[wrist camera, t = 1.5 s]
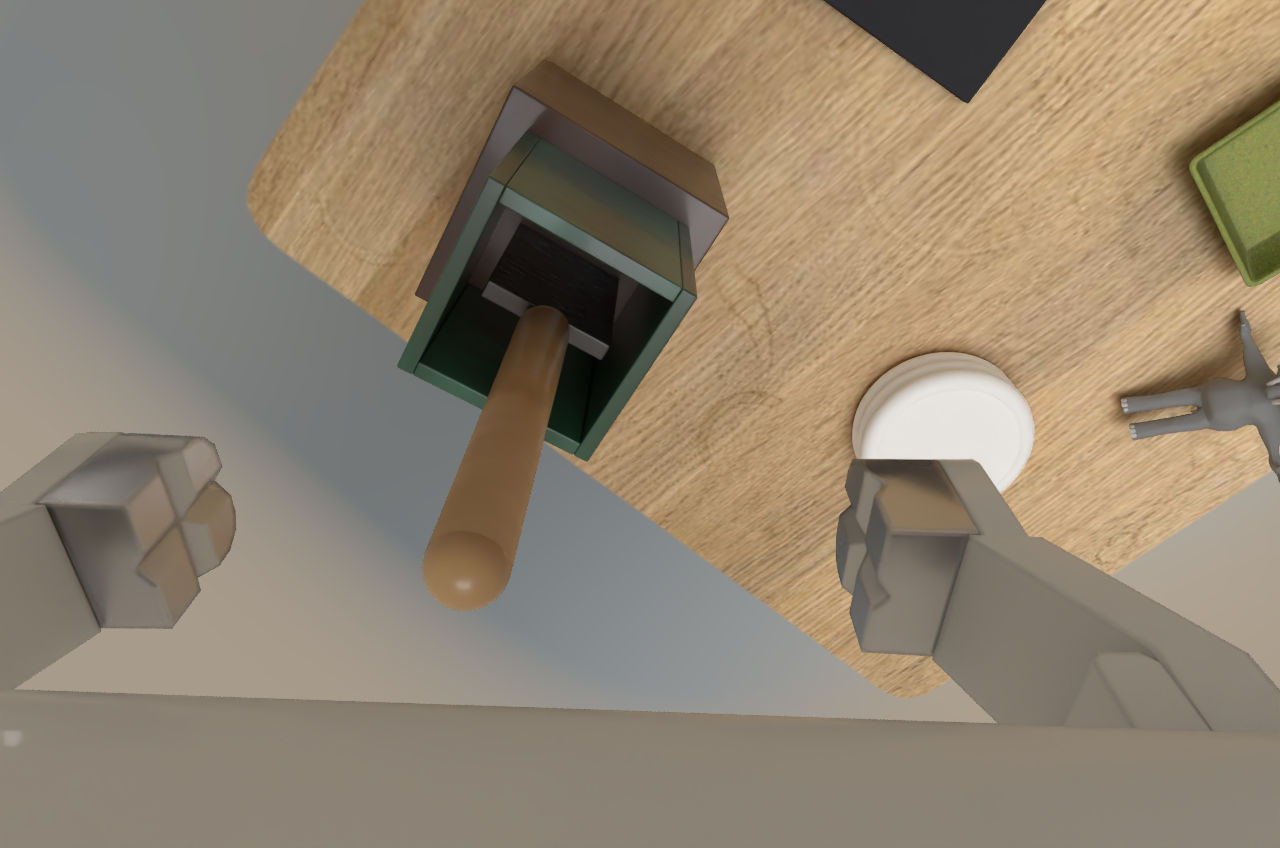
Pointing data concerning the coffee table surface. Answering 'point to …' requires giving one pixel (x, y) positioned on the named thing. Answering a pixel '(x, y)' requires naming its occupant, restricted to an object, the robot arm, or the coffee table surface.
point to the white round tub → (947, 415)
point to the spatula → (515, 414)
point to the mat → (945, 34)
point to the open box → (569, 246)
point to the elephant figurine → (1221, 403)
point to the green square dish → (1246, 193)
